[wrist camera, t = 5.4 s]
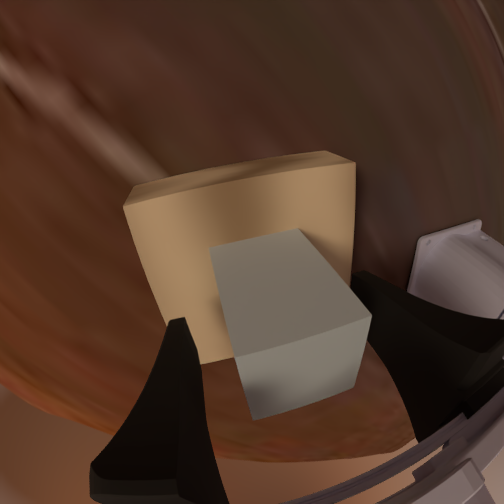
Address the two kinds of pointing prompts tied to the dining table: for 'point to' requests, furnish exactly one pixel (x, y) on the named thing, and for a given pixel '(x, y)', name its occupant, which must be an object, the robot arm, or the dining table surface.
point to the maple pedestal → (236, 228)
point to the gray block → (288, 321)
